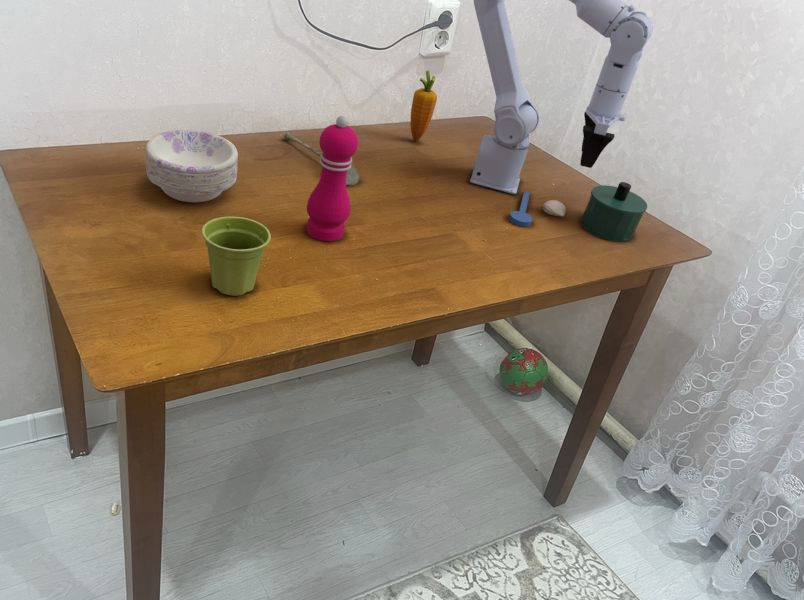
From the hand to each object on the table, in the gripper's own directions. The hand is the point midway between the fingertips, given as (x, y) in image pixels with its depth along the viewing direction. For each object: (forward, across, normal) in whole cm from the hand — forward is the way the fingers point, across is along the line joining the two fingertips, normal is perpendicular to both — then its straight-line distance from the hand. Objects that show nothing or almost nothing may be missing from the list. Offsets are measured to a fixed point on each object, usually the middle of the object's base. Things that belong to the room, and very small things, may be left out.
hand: (586, 159), depth 135 cm
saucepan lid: (+5, -4, -8) cm, 10 cm away
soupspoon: (+10, -10, +50) cm, 52 cm away
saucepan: (+11, -4, -8) cm, 14 cm away
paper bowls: (+10, -35, +65) cm, 74 cm away
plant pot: (+10, -58, +47) cm, 75 cm away
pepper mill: (+10, -36, +40) cm, 54 cm away
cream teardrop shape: (+11, -5, +3) cm, 12 cm away
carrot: (+10, +13, +35) cm, 38 cm away
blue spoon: (+10, -6, +9) cm, 15 cm away
